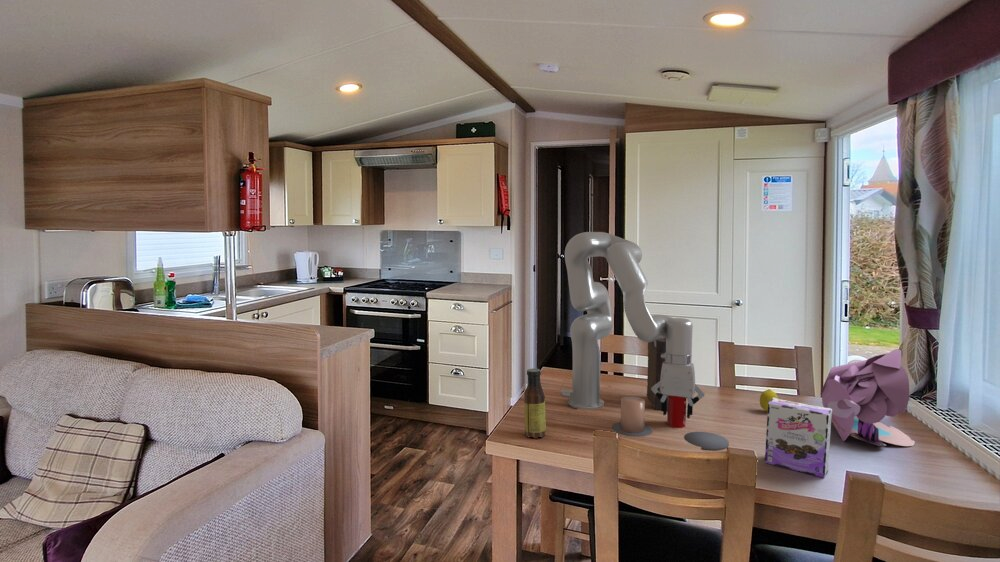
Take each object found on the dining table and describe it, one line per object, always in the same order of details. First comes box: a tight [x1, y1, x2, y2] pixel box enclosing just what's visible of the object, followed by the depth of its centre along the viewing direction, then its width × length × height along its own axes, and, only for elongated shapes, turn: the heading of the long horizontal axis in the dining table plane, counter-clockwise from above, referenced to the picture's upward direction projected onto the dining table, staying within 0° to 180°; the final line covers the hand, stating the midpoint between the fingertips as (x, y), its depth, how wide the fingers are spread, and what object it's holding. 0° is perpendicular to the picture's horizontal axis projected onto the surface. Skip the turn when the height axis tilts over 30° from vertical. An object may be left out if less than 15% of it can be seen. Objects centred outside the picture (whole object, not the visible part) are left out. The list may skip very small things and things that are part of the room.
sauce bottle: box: [523, 368, 547, 439], centre depth 157 cm, size 6×6×20 cm
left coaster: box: [611, 421, 654, 438], centre depth 161 cm, size 12×12×1 cm
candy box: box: [764, 398, 832, 478], centre depth 136 cm, size 14×6×16 cm, turn 50°
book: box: [646, 338, 668, 412], centre depth 184 cm, size 17×7×25 cm, turn 167°
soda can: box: [666, 396, 687, 429], centre depth 164 cm, size 6×6×12 cm
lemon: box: [759, 388, 779, 413], centre depth 176 cm, size 6×6×8 cm
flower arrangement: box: [820, 348, 915, 447], centre depth 156 cm, size 35×24×28 cm
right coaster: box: [683, 431, 730, 451], centre depth 153 cm, size 12×12×1 cm
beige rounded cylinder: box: [620, 395, 646, 433], centre depth 161 cm, size 7×7×9 cm
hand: (676, 414), depth 164 cm, fingers open, 6 cm apart
